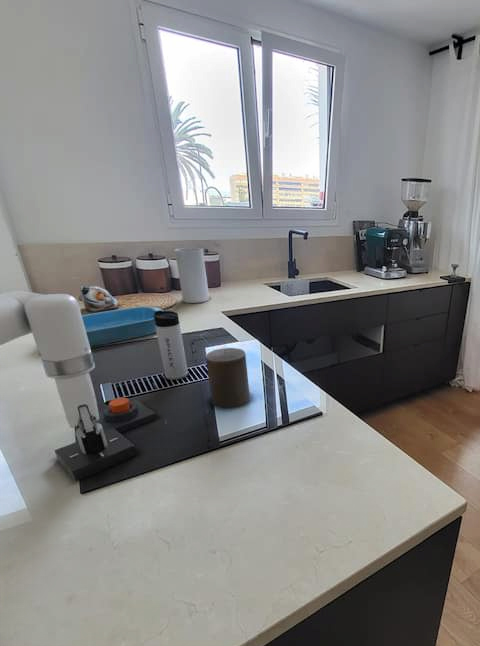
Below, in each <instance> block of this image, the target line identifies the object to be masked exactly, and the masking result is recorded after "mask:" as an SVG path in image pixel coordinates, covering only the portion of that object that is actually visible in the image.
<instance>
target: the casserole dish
mask: <svg viewBox="0 0 480 646" xmlns="http://www.w3.org/2000/svg"><path fill="white" fill-rule="evenodd" d="M159 310H162V311H164V309H162V308H159V307H152V306H133V307H126V308H120V309H119V308H118V309H113V310H112V309H111V310H105V311H98V312H93V313H92V312H91V313H86V314H81V315H82V319H83V323H84V326H85V330H86V334H87V337H88V341H89V345H90V348H91V347H96V346H101V345H107V344H111V343H117V342H120V341H125V340H131V339H135V338H136V339H137V338H140V337H144V336H149V335H152V334H155V333H157V331H156V326H155V320H154V313H155V311H159Z"/></svg>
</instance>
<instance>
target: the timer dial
mask: <svg viewBox="0 0 480 646" xmlns="http://www.w3.org/2000/svg"><path fill="white" fill-rule="evenodd" d="M96 424H97V427H98V430H99V432H101V436H102V439H103V443H104V446H105V448H106V446H107V442H106V438H105V435H104V431H103V428H102V425H101V424H99V423H96ZM92 426H94V425H93V423H92ZM83 429H85V427H84V426H83ZM75 435H76V439H77V442H78V441H79V445H80V448H81V451H82V452H83V453H84V454H86V452H85V449H84V446H83V443H82V439H81V437H82V434H81V431H80V428H78V427H77V429H76V430H75ZM96 453H97V452H96Z"/></svg>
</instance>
